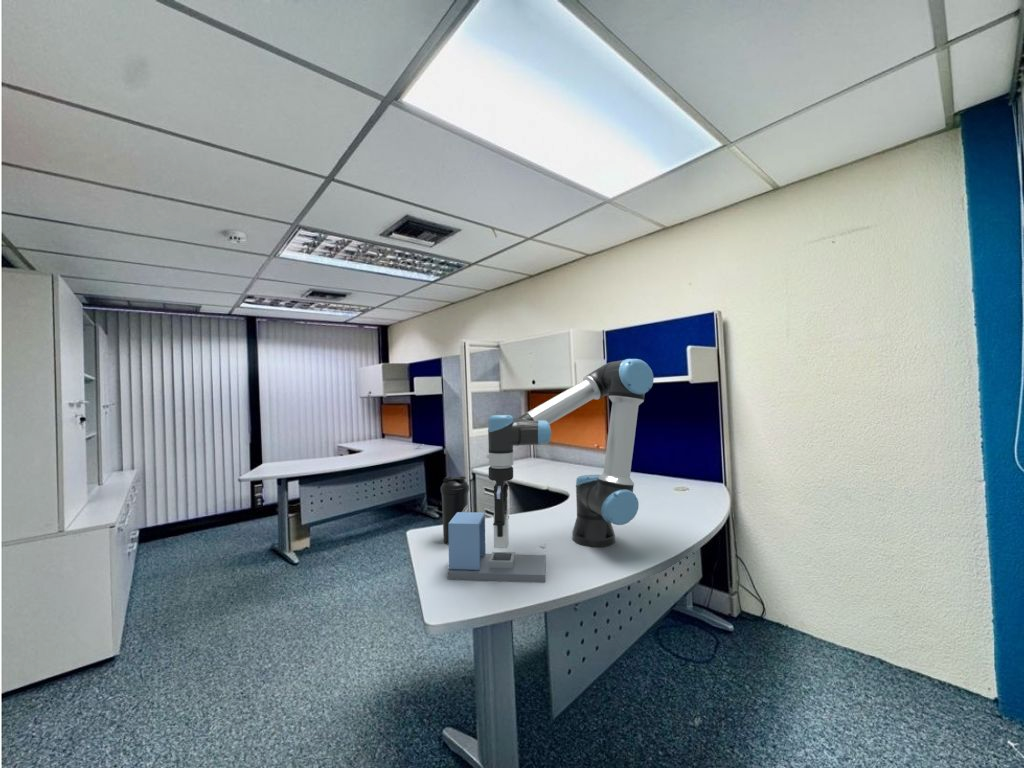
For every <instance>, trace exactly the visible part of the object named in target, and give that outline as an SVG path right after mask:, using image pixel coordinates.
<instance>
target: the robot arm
mask: <svg viewBox="0 0 1024 768" xmlns="http://www.w3.org/2000/svg"><path fill="white" fill-rule="evenodd" d="M654 380H655V379H654V373H653V370H652V369H651V367H650V366H649V364H648V363H647V362H645V361H644V360H642V359H640V358H639V359H638V358H625V359H622V360H617V361H610V362H608V363H605V364H603V365H601V366H599V367H598V368H597V369H595V370H593V371H592V372H590V373H588V374H587V375H585V376H583V378H582V381H579V382H578V383H577V384H575V385H573V386H571V387H569V388H568V389H566V390H564V391H562V392H561V393H559V394H557V395H555V396H553V397H552V398H550V399H548V400H547V401H545V402H542V403H541V404H539V405H537V406H536V407H535V408H532V409H530V410H529V411H527V412H526V413H523V414H521V415H520V416H518V417H513V416H512V415H510V414H494V415H493V414H492V415H491V416H489V417H488V423H487V424H488V426H487V427H488V428H487V433H488V434H487V436H488V454H487V455H486V458H487V459H488V466H489V467H488V479H489V480H490V481H492V482H493V481H494V482H495V484H494V485H493V495H494V496H493V498H494V512H495V523H494V522H493V523H492V526H494V525H496V547H505V523H504V511H508V489H509V484H508V481H512V480H513V479H514V467H513V465H514V447H515V446H516V447H517V446H518V447H519V446H540V445H547V444H549V443H550V441H551V438H552V429H551V425H550V424H552V423H554V422H556V421H558V420H560V419H561V418H563V417H564V416H566V415H568V414H570V413H572V412H574V411H575V410H576V409H579V408H581V407H582V406H583V405H586V404H587V403H588V402H590V401H592V400H599V399H601V398H603V397H606V396H608V398H609V400H610V401H611V403H612V404H611V410H610V417H609V425H608V433H607V441H606V449H605V457H604V465H603V472H602V474H585V475H579V476H578V477H577V478H576V480H575V492H576V495H575V496H576V519H575V522H574V526H573V529H572V532H571V533H572V536H571V538H572V541H574V542H575V543H576V544H579V545H581V546H587V547H594V548H596V547H597V548H599V547H607V546H610V545H613V544H614V543H615V542H616V535H615V530H614V527H613V525H616V526H623V525H626V524H628V523H630V521H632V520H633V519H635V517H636V515H637V514H638V511H639V506H640V505H639V499H638V497H637V496H636V494H635V493H634V486H635V483H634V482H633V480H632V478H631V473H632V472H631V470H632V462H633V454H634V446H635V438H636V428H637V422H638V421H637V420H638V413H639V406H640V405H641V404H642V403H644V401H645V394H646V393H648V392H649V391H650V390H651V389H652V387H653V386H654V385H653V384H654ZM509 519H510V515H508V520H509ZM612 524H613V525H612Z"/></svg>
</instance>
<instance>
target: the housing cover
mask: <svg viewBox="0 0 1024 768" xmlns="http://www.w3.org/2000/svg"><path fill="white" fill-rule="evenodd" d="M448 529H449V545H448V570H449V569H467V570H480V556H485V555H486V554H487V551H486V512H478V511H477V512H473V511H472V512H471V511H468V512H457V513H456V514H455V516H454V517H453V518H452V520H451V521H450V522H449V523H448Z"/></svg>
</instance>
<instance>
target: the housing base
mask: <svg viewBox="0 0 1024 768" xmlns="http://www.w3.org/2000/svg"><path fill="white" fill-rule="evenodd" d="M515 553H516V552H514V551H492V552H491V553H486V555H485V556H480V570H467V569H449V568H448V571H447V580H453V581H454V580H456V581H457V580H458V581H485V582H486V581H492V582H496V581H497V582H521V583H522V582H523V583H525V582H526V583H527V582H528V583H529V582H530V583H546V570H547V569H546V567H547V565H546V564H547V556H546V555H547V554H525V553H524V554H523V553H522V554H515Z"/></svg>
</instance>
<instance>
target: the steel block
mask: <svg viewBox="0 0 1024 768" xmlns="http://www.w3.org/2000/svg"><path fill="white" fill-rule="evenodd" d="M508 516H509V510H507V511H504V523H505V547H496V525H493V549H505V550H506V549H508V548H509V541H510V540H509V539H510V537H509V519H508ZM493 523H495V511H494V512H493Z"/></svg>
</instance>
